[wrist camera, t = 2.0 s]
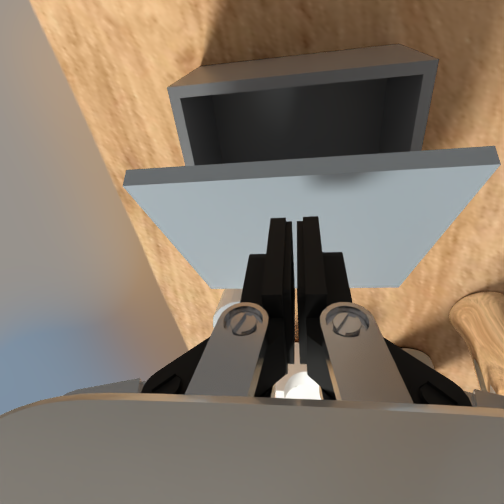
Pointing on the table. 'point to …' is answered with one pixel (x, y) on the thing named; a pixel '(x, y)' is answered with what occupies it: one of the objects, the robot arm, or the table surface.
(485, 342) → the silver metal tumbler
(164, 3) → the table surface
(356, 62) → the storage box
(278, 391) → the bracket
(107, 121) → the table surface
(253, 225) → the lid
